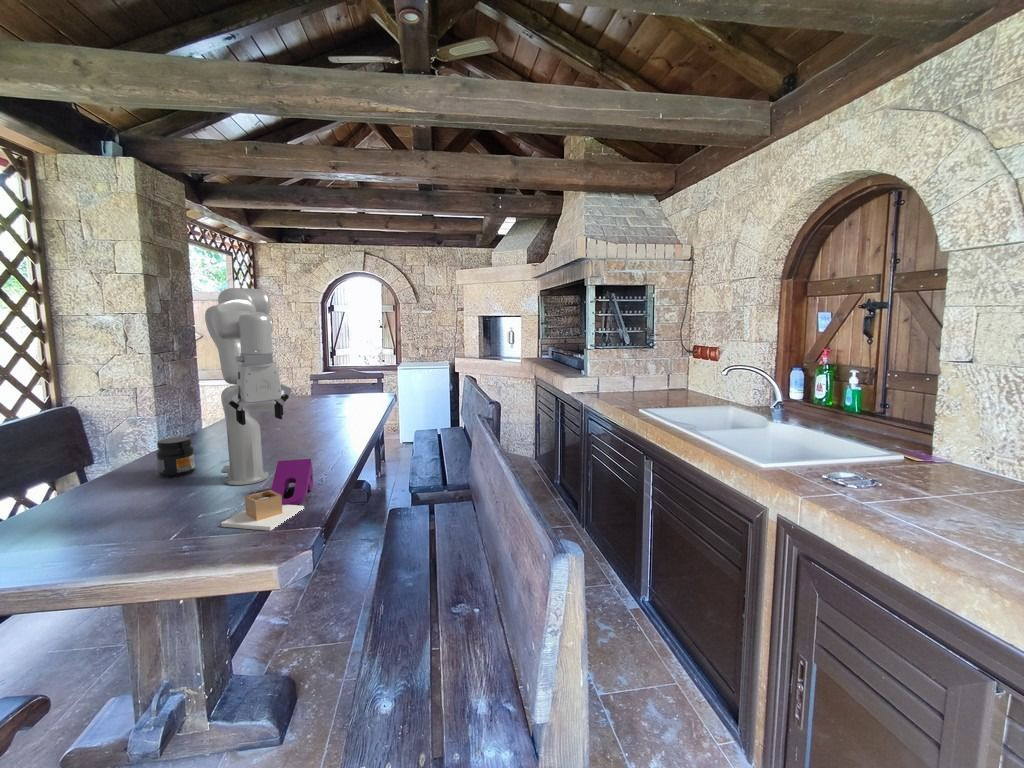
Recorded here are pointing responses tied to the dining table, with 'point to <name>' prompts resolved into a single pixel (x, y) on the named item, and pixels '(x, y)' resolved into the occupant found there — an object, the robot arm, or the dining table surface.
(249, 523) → the flange
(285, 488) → the mounting bracket
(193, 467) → the supplement container
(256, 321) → the robot arm
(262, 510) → the open wooden box
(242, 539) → the dining table surface
